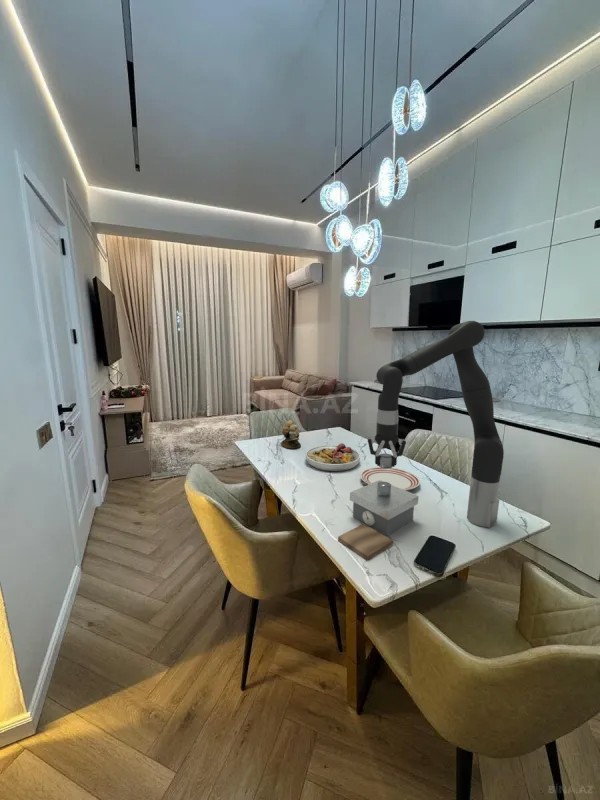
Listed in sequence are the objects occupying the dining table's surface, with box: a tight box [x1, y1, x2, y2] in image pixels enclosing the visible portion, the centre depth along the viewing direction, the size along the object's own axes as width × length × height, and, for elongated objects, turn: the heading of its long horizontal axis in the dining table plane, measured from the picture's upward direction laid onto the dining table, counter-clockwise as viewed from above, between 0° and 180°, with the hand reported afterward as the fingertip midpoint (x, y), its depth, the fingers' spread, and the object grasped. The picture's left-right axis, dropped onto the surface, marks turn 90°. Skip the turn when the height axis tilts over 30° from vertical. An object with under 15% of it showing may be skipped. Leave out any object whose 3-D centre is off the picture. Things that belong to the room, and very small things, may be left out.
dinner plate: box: [359, 466, 420, 491], centre depth 158 cm, size 28×27×3 cm
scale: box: [352, 501, 415, 536], centre depth 126 cm, size 16×17×8 cm
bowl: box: [305, 442, 361, 472], centre depth 183 cm, size 30×30×8 cm
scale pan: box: [349, 480, 419, 520], centre depth 126 cm, size 18×18×3 cm
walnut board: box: [337, 523, 394, 561], centre depth 112 cm, size 13×13×2 cm
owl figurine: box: [280, 419, 302, 450], centre depth 210 cm, size 18×12×17 cm, turn 27°
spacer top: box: [378, 453, 393, 469], centre depth 122 cm, size 5×5×4 cm
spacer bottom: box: [377, 482, 391, 497], centre depth 125 cm, size 5×5×4 cm
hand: (385, 465), depth 123 cm, fingers closed on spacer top, 5 cm apart
